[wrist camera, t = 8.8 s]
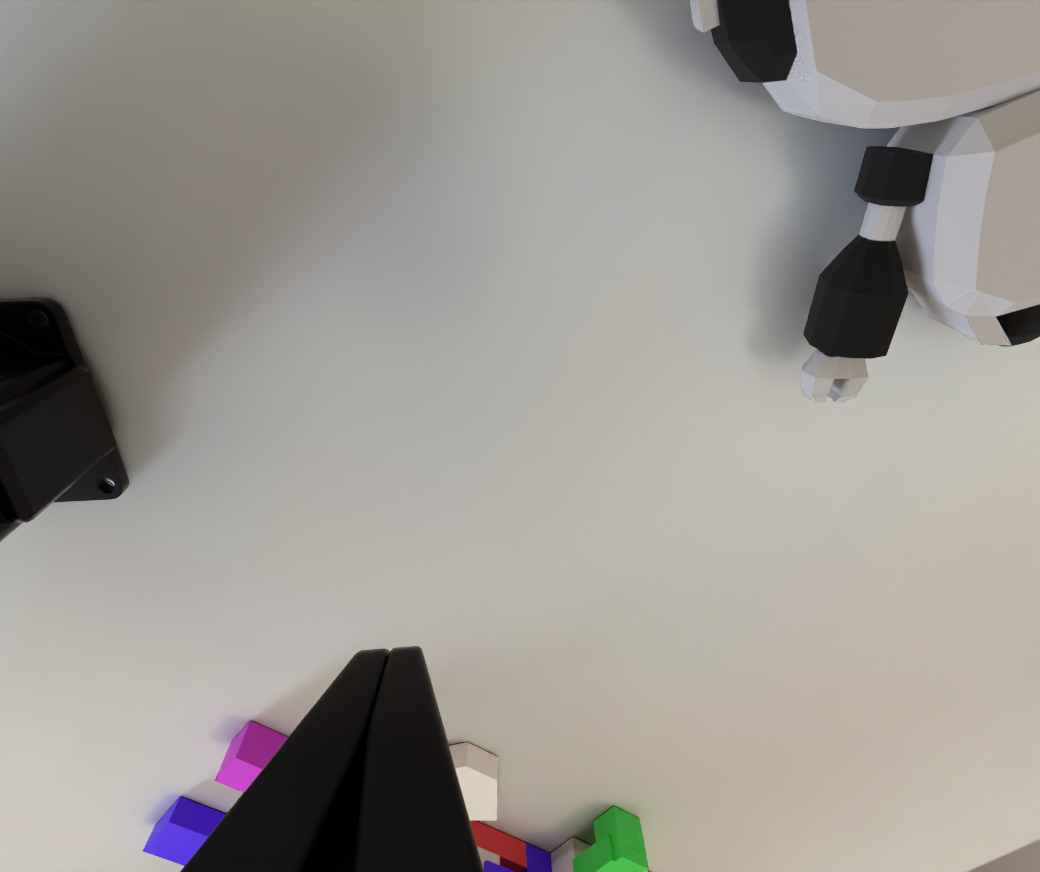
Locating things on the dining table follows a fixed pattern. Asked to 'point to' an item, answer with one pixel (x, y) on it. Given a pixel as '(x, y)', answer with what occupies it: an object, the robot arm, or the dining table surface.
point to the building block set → (506, 860)
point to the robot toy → (911, 161)
